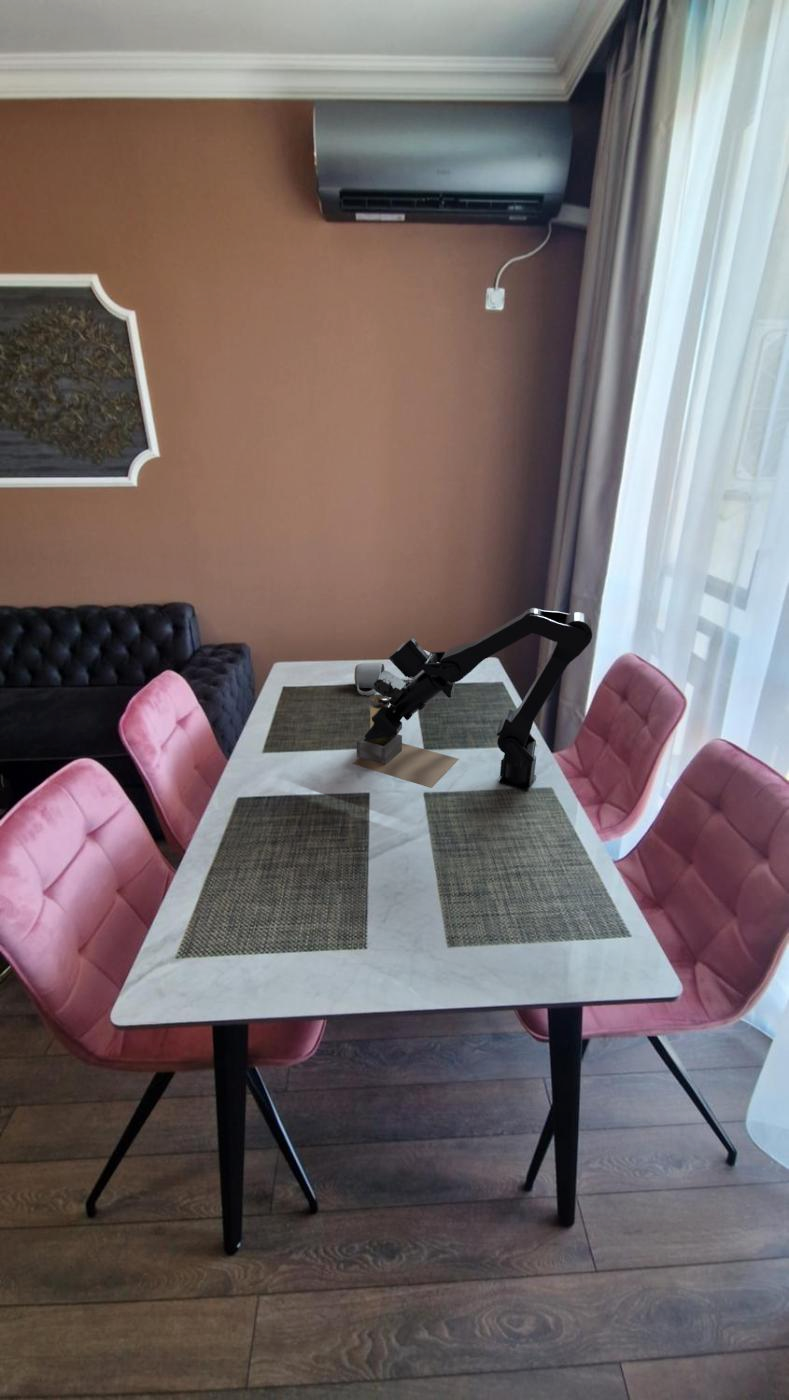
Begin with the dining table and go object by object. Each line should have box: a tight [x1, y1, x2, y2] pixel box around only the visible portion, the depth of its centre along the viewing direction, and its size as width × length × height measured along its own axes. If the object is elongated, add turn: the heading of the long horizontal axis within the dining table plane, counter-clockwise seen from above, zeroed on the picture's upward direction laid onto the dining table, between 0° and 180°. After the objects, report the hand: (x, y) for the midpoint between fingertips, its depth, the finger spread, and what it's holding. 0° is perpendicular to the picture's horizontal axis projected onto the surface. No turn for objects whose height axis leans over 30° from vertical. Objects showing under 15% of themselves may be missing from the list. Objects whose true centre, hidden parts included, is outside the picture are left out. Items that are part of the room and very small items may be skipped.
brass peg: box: [368, 693, 390, 746], centre depth 137 cm, size 5×5×14 cm
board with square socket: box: [351, 733, 460, 789], centre depth 137 cm, size 21×14×6 cm
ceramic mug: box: [354, 662, 386, 697], centre depth 177 cm, size 11×8×8 cm
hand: (373, 728), depth 138 cm, fingers open, 9 cm apart
